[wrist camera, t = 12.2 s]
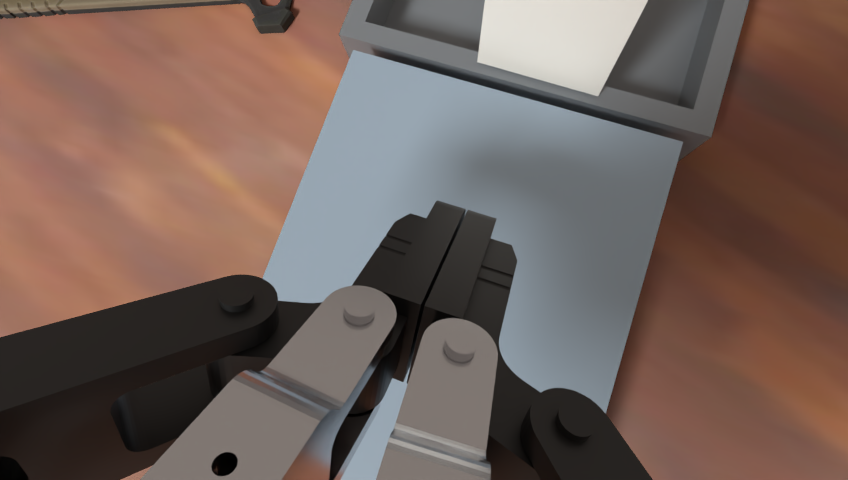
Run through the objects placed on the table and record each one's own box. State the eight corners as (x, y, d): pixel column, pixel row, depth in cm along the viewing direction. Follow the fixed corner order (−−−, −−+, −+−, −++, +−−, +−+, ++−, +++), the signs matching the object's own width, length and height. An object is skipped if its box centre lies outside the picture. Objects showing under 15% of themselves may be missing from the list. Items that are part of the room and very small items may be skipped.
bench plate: (247, 405, 18) (205, 422, 15) (369, 89, 20) (353, 49, 17) (543, 527, 17) (560, 572, 14) (648, 170, 18) (683, 141, 15)
